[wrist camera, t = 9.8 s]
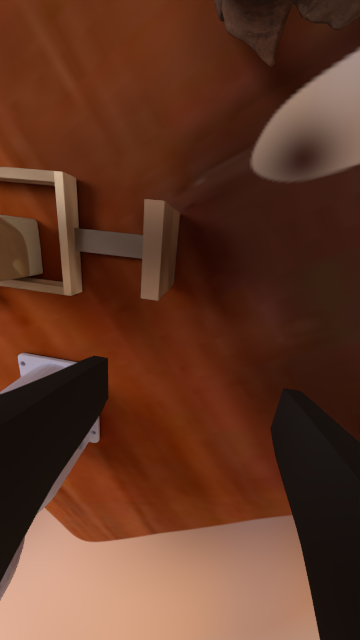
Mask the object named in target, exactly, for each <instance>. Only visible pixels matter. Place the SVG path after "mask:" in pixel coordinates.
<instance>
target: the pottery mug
mask: <svg viewBox="0 0 360 640" xmlns="http://www.w3.org/2000/svg"><path fill="white" fill-rule="evenodd" d="M214 1H215V6H216V10H217V14H218V17H219V19H220V21H224V22H225V28H226V30H227V32H228V33H229V34H230V35H232V36H233V37H235V38H238V39H239V40H242V41H244V42H245V43H246V44H248V45H249V46H250V47H251V48H252V49H253V50H254V51H256V52H257V54H258V55H259V57H260V58H261V59H262V60H263V61H264V62H265V63H266V64H267V65H269V66H270V67H272V66H273V65H274V63H275V53H276V49H277V44H278V41H279V39H280V37H281V34H282V31H283V28H284V24H285V22H286V19H287V16H288V13H289V11H290V8H291V5H292V4H295V5H296V7H297V8H298V10H299V12H300V15H301V16H302V18H304V19H306V20H308V21H310V22H313V23H327V24H328V25H329V26H331V27H332V28H333V29H335V30H339V29H342V28H344V27H345V26H347V25H348V24H350V23H351V22H353V21H354V20H356V19H357V18H359V17H360V0H214Z"/></svg>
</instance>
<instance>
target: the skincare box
mask: <svg viewBox="0 0 360 640" xmlns="http://www.w3.org/2000/svg"><path fill="white" fill-rule="evenodd" d="M42 273H43V268H42V257H41V247H40V239H39V231H38V223H37V221H36V220H35V219H29V218H21V217H13V216H5V215H0V282H1V281H6V280H12V279H17V278H22V277H28V276H33V275H38V274H42Z"/></svg>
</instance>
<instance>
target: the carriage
mask: <svg viewBox="0 0 360 640" xmlns="http://www.w3.org/2000/svg"><path fill="white" fill-rule="evenodd" d="M0 181H6V182H17V183H29V184H40V185H52V186H55V192H56V204H57V215H58V227H59V239H60V251H61V263H62V275H63V282H59V281H52V280H44V279H37V278H29V277H22V278H17V279H12V280H6V281H1V282H0V286H5V287H12V288H19V289H26V290H33V291H40V292H47V293H54V294H61V295H68V296H73V295H75V294H78V293H80V292H82V276H81V258H80V251H82V252H90V253H98V254H107V255H115V256H124V257H132V258H140V259H142V279H141V298H142V299H150V300H157V301H158V300H159V299H160V298H161V297H162V296H163V295H164V294H165V293H166V292H167V291H168V290H169V289H170V288H171V287H172V286H173V285H174V276H175V265H176V253H177V242H178V231H179V220H180V212H178V211H177V210H176V209H174V208H173V207H172V206H171V205H169V204H168V203H167V202H165V201H160V200H149V199H145V202H144V228H143V235H136V234H126V233H117V232H108V231H99V230H89V229H80V228H79V221H78V203H77V185H76V178H75V177H73V176H71V175H69V174H66V173H64V172H59V171H47V170H34V169H21V168H9V167H0Z"/></svg>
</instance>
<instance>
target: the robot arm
mask: <svg viewBox="0 0 360 640" xmlns="http://www.w3.org/2000/svg"><path fill="white" fill-rule="evenodd" d="M18 362H19V368H20V373H21V378H19V379H18V380H16V381H15V382H14V383H12V384H11V385H9V386H8V387H6V388H5V389H4V390H2V391H1V392H0V600H1V598H2V596H3V594H4V593H5V591H6V589H7V587H8V585H9V583H10V581H11V579H12V577H13V575H14V573H15V570H16V568H17V565H18V562H19V559H20V555H21V552H22V549H23V544H24V539H25V535H26V533H27V531H28V529H29V527H30V525H31V523H32V522H33V520H34V518H35V516H36V514H37V513H38V512H39V511H41V510H42V509H43V508H44V507H45V506H46V505H47V504H48V503H49V502H50V501H51V500H52V499H53V497H54V496H55V495H56V493H57V491H58V490H59V488H60V487H61V485H62V484H63V482H64V480H65V479H66V477H67V476H68V474H69V472H70V471H71V469H72V468H73V466H74V465H75V463H76V461H77V460H78V458H79V457H80V455H81V453H82V452H83V450H84V449H85V447H86V446H87V444H88V442H92V443H97V442H98V441H99V439H100V426H99V415H100V413H101V411H102V409H103V407H104V405H105V403H106V401H107V399H108V358H104V357H99V356H92V357H89V358H87V359H84V360H82V361H80V362H73V361H68V360H62V359H56V358H51V357H45V356H39V355H34V354H28V353H21V354H20V355H18ZM24 362H25V363H24ZM271 434H272V440H273V446H274V452H275V457H276V460H277V464H278V467H279V471H280V474H281V478H282V481H283V484H284V488H285V491H286V494H287V498H288V501H289V504H290V508H291V511H292V515H293V518H294V521H295V524H296V528H297V532H298V536H299V540H300V543H301V548H302V552H303V557H304V561H305V566H306V571H307V576H308V581H309V585H310V590H311V595H312V600H313V606H314V611H315V616H316V621H317V626H318V631H319V636H320V640H360V442H358V441H357V440H356V439H355V438H354V437H352V436H351V435H350V434H349V433H348V432H347V431H345V430H344V429H343V428H342V427H341V426H340V425H339V424H337V423H336V422H335V421H334V420H333V419H332V418H331V417H330V416H328V415H327V414H326V413H325V412H324V411H323V410H322V409H321V408H319V407H318V406H317V405H316V404H315V403H314V402H313V401H311V400H310V399H309V398H308V397H307V396H306V395H304V394H303V393H302V392H300V391H297V390H291V389H285V388H283V391H282V394H281V398H280V401H279V404H278V407H277V410H276V413H275V417H274V420H273V423H272V426H271Z"/></svg>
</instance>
